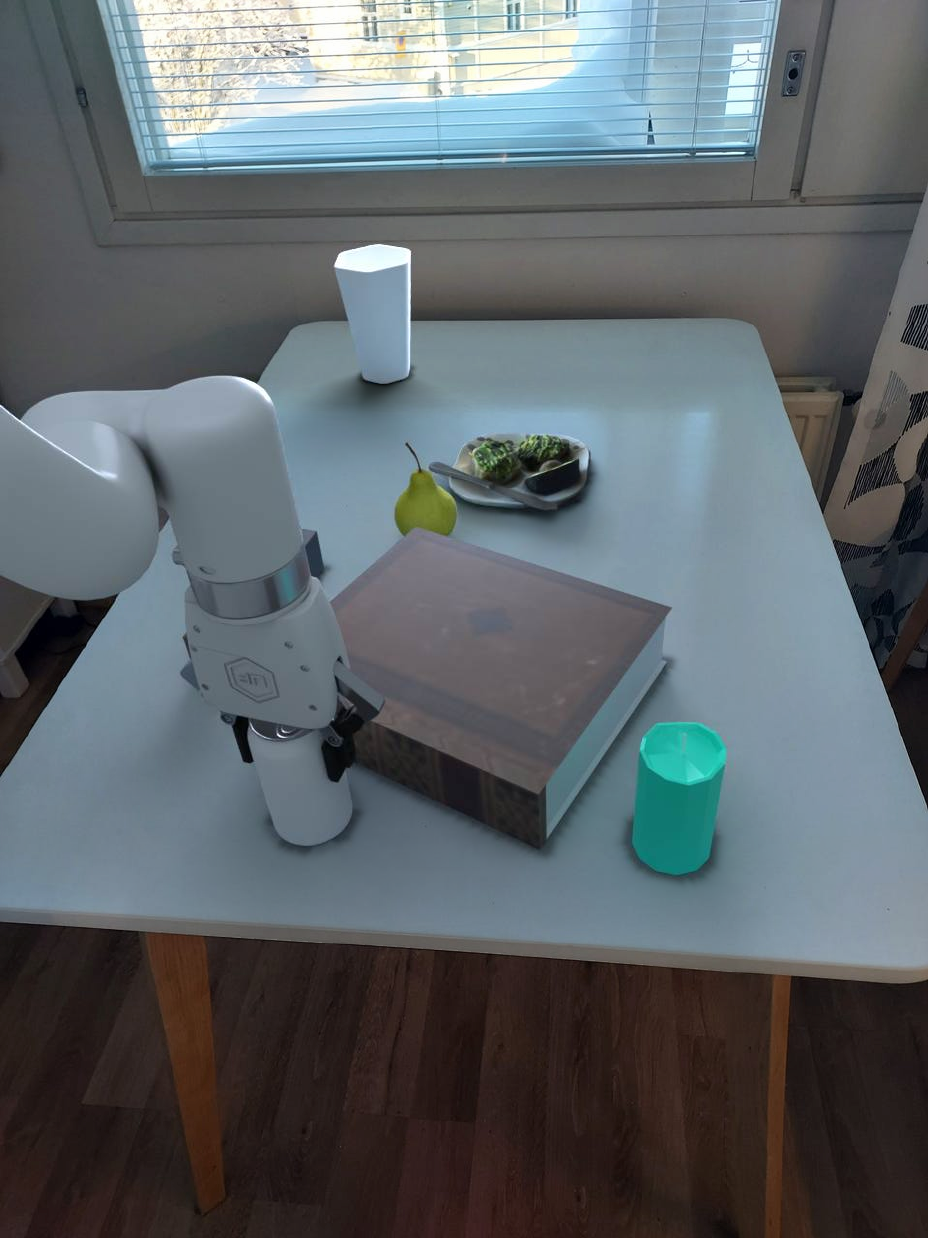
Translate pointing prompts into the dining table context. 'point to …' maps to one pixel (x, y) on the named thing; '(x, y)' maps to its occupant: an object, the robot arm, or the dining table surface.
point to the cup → (378, 308)
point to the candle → (677, 796)
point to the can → (298, 783)
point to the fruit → (425, 505)
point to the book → (494, 677)
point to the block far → (313, 552)
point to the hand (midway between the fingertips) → (298, 757)
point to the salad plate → (519, 470)
